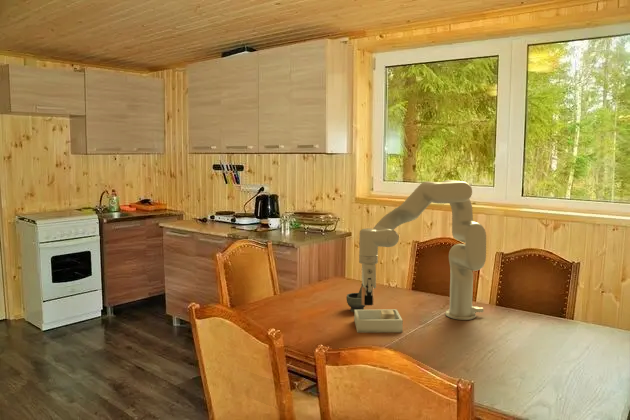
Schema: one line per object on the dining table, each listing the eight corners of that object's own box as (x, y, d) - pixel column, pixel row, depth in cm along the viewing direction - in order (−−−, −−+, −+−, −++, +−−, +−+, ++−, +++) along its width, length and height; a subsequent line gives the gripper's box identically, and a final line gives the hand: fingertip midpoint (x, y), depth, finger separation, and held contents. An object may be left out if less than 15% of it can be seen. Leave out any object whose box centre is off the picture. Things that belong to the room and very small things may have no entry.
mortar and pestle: (357, 315, 228) (358, 288, 226) (342, 310, 234) (342, 284, 233) (374, 309, 235) (374, 284, 234) (358, 305, 242) (358, 280, 241)
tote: (396, 320, 220) (396, 309, 219) (402, 332, 206) (402, 320, 205) (354, 321, 220) (354, 309, 219) (357, 332, 206) (357, 320, 205)
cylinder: (372, 302, 214) (373, 285, 213) (374, 305, 209) (374, 289, 208) (360, 302, 214) (361, 285, 213) (362, 305, 209) (362, 288, 208)
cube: (392, 322, 215) (392, 310, 215) (394, 326, 210) (394, 314, 210) (380, 322, 215) (380, 310, 215) (382, 326, 210) (382, 314, 210)
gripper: (380, 263, 201) (379, 309, 203) (375, 254, 218) (374, 297, 220) (361, 263, 201) (360, 309, 203) (357, 254, 218) (356, 296, 220)
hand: (367, 302), depth 212 cm, fingers closed on cylinder, 5 cm apart
